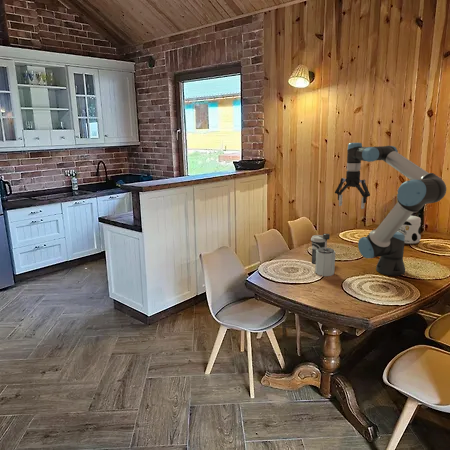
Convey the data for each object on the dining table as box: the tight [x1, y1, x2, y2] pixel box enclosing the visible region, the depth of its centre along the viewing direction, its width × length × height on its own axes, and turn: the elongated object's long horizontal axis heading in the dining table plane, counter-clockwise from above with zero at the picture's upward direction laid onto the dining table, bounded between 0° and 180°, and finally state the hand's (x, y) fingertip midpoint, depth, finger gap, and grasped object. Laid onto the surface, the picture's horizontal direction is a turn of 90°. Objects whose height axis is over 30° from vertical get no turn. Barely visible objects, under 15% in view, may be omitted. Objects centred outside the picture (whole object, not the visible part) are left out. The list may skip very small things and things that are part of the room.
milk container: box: [397, 215, 422, 245], centre depth 268 cm, size 17×17×18 cm
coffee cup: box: [310, 234, 325, 262], centre depth 238 cm, size 10×10×15 cm
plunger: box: [322, 233, 331, 254], centre depth 215 cm, size 7×7×18 cm
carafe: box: [311, 247, 336, 277], centre depth 218 cm, size 13×10×14 cm
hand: (351, 207), depth 224 cm, fingers open, 13 cm apart
